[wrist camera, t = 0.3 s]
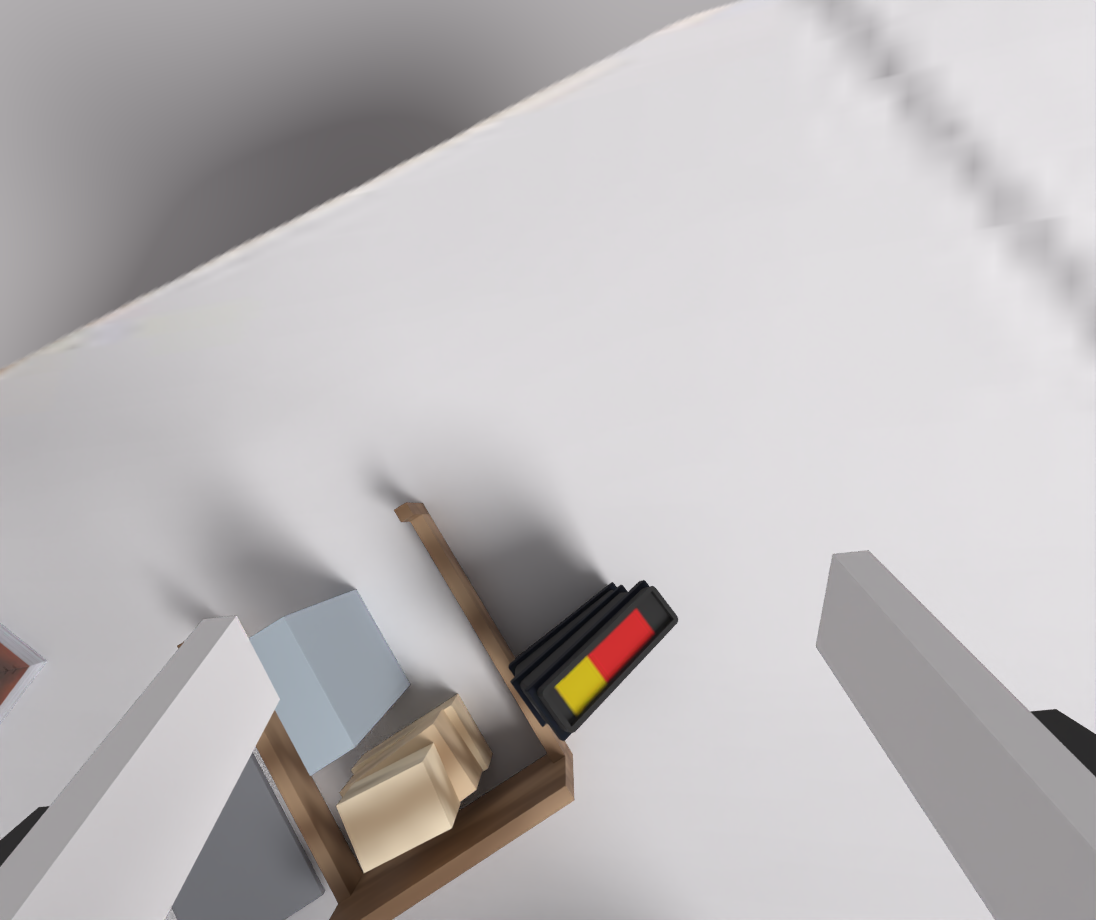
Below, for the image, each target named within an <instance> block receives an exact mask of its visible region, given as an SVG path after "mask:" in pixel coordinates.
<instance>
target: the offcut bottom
mask: <svg viewBox="0 0 1096 920" xmlns="http://www.w3.org/2000/svg"><path fill="white" fill-rule="evenodd" d="M441 709H443V710H444V712H445V713H446V715H447V716H448V718H449V719H450V721H451V722H452V724H453V725H454V727H455V728H456V730H457V731H458V733H459V734H460V736H461V737H462V739H463V740H464V742H465V743H466V745H467V747H468V748H469V750H470V751H471V753H472V754H473V756H474V757H475V759H476V760H477V762H478V763H479V765H480V766H481V768H482V769H483V770H482V772H483V771H485V770H487V769H488V768H489V764H490V761H491V757H492V754H493V753H492V751H491V750H490V748H489V746H488V745H487V743H486V741H485V739H484V738H483V736H482V734H481V732H480V731H479V729H478V727H477V726H476V724H475V722H474V720H473V719H472V717H471V715H470V714H469V712H468V710H467V708H466V707H465V705H464V703H463V701H462V700H461V698H460V696H459V695H458V694H457V695H455V696H453V697H452V698H450V699H449V700H447V701H446V702H444V703H443V704H441V705H440V706H438V707H436V708H435V709H433V710H432V711H430V712H429V713H427V714H426V715H424V716H422V717H421V718H419V719H418V720H416V721H415V722H413V723H412V724H410V725H409V726H407V727H405V728H404V729H402V730H401V731H399V732H398V733H396V734H395V735H393V736H391V737H390V738H388V739H387V740H385V741H384V742H382V743H381V744H379V745H378V746H376V747H374V748H373V749H371V750H370V751H368V752H367V753H365V754H364V755H363V756H362V757H361V758H360V759H359V761H358V762H357V763H356V764H355V765H354V767H353V768H352V769H351V771H352V773H353V774H355V773H356V772H357V771H358V770H360V769H361V768H362V767H364V766H365V765H366V764H368V763H369V762H370V761H372V760H373V759H375V758H376V757H377V756H379V755H380V754H381V753H383V752H384V751H385V750H387V749H388V748H389V747H391V746H392V745H394V744H395V743H396V742H398V741H399V740H400V739H402V738H403V737H404V736H406V735H407V734H408V733H410V732H411V731H413V730H414V729H415V728H417V727H418V726H419V725H421V724H422V723H423V722H425V721H426V720H428V719H429V718H430V717H432V716H433V715H434V714H436V713H437V712H438V711H440V710H441Z"/></svg>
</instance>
